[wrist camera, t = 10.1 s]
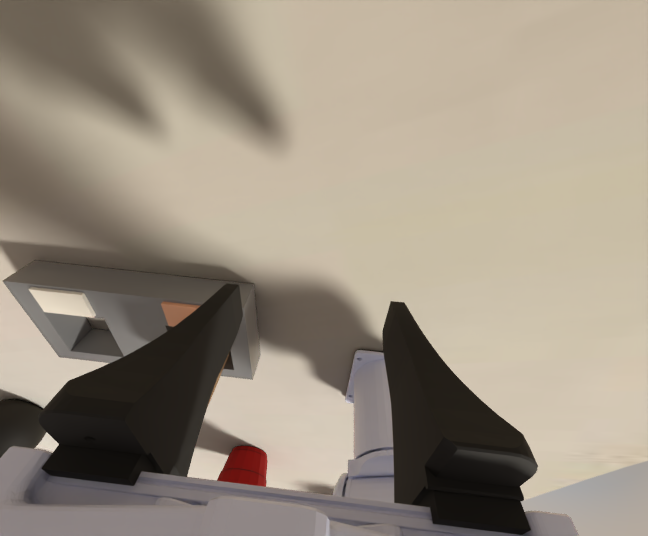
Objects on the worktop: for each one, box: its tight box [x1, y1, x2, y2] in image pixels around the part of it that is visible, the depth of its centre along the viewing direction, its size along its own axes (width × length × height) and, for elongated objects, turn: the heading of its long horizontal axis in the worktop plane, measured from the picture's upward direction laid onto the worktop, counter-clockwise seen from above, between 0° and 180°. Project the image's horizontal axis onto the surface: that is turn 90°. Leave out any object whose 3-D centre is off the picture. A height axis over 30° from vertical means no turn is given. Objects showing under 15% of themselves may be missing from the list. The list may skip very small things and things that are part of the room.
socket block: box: [3, 260, 260, 380], centre depth 28 cm, size 10×20×3 cm, turn 86°
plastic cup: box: [217, 446, 267, 487], centre depth 42 cm, size 11×11×12 cm
